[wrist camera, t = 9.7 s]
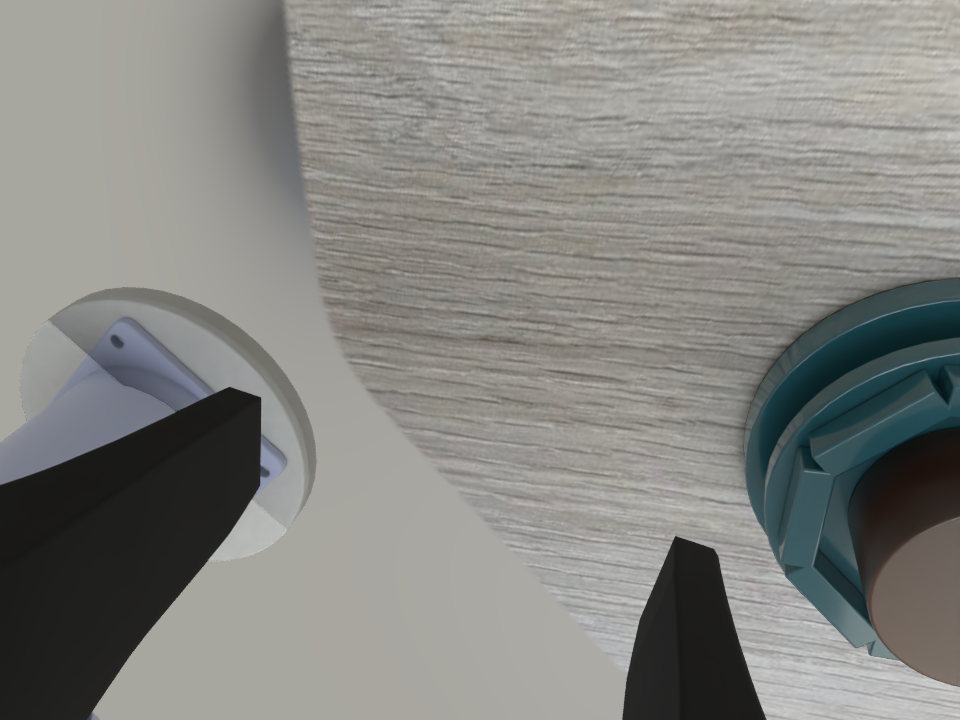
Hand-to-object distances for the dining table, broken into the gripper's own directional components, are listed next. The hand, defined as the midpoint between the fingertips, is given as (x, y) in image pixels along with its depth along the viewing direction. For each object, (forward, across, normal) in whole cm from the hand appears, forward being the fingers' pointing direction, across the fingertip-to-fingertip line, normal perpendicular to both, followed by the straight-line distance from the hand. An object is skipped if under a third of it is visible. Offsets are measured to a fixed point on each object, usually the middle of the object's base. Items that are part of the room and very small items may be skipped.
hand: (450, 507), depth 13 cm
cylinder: (+8, -11, +2) cm, 14 cm away
